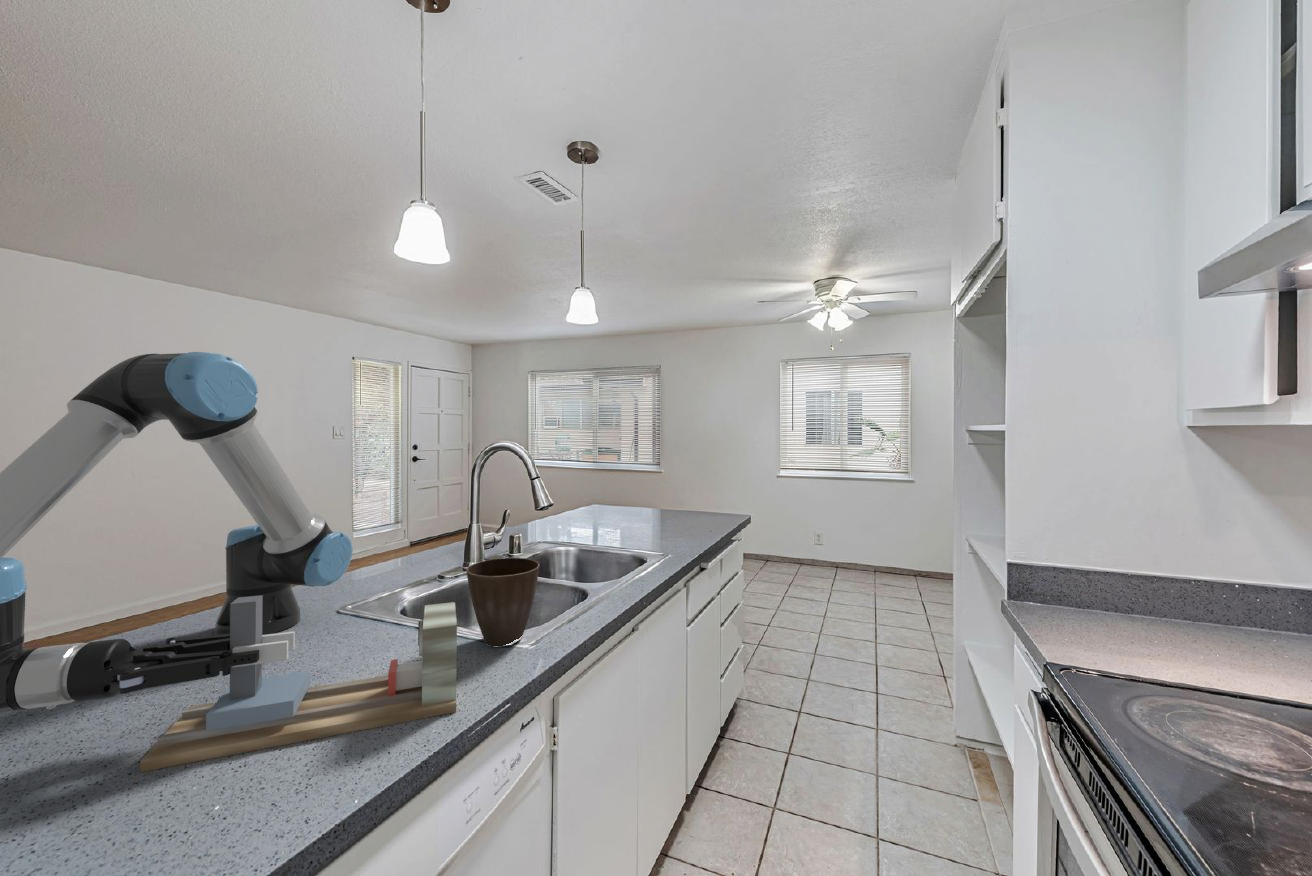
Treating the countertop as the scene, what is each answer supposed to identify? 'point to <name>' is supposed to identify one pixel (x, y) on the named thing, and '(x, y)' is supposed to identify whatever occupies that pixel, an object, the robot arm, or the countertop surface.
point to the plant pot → (502, 597)
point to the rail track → (328, 705)
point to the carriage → (254, 678)
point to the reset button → (404, 676)
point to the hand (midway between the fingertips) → (290, 645)
